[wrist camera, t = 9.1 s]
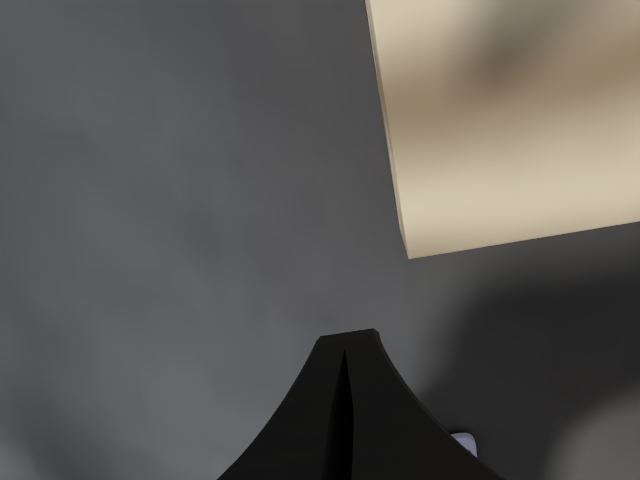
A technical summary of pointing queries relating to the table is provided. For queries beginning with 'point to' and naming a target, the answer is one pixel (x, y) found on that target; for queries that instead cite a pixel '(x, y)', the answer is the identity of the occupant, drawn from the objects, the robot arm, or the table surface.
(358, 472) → the robot arm
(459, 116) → the beige piece
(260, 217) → the table surface
